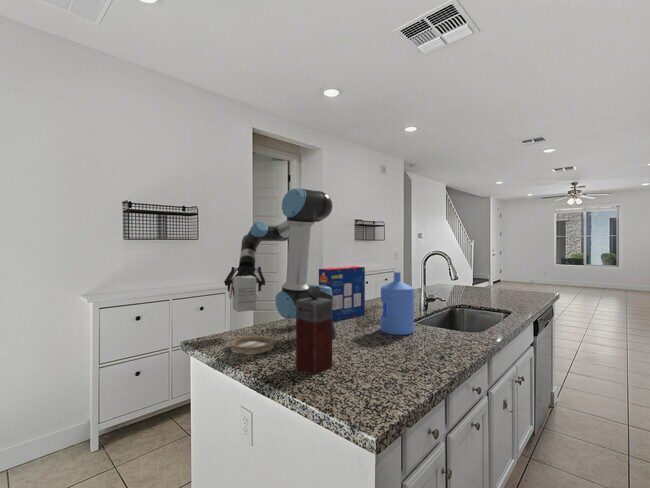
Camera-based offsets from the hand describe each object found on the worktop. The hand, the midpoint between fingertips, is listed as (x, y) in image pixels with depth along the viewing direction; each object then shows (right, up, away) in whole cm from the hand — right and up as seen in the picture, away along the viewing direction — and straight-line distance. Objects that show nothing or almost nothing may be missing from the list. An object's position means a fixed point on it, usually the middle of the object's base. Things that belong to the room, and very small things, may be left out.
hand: (243, 296), depth 155 cm
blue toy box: (+46, -18, +39) cm, 63 cm away
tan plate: (+7, -18, -14) cm, 24 cm away
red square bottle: (+32, -19, -36) cm, 52 cm away
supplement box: (0, -6, +3) cm, 7 cm away
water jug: (+71, -18, +11) cm, 74 cm away
